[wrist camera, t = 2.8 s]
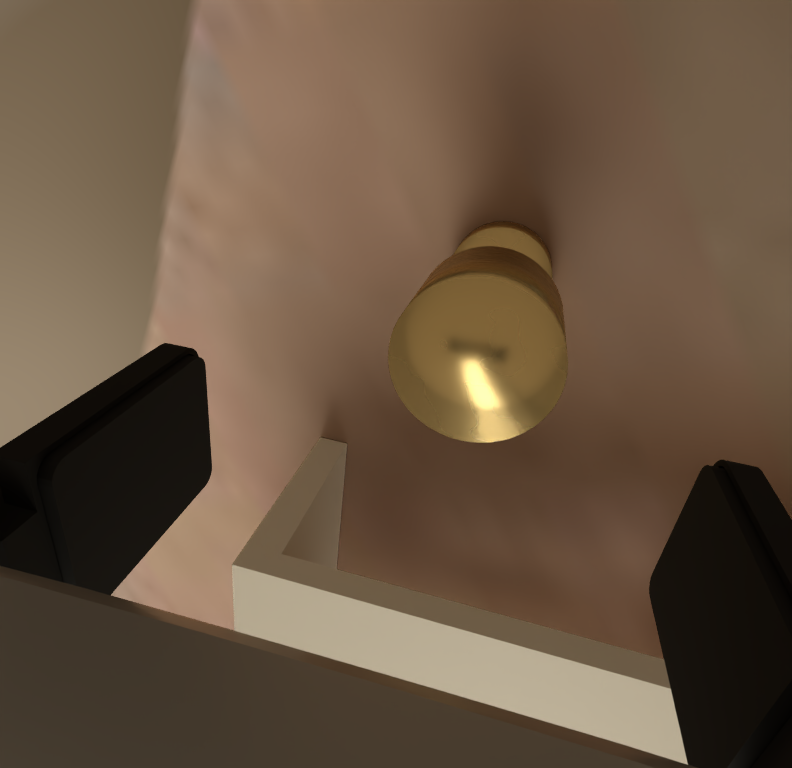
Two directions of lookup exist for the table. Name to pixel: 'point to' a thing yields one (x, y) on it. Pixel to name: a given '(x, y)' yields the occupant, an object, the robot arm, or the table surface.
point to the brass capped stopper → (483, 339)
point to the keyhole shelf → (435, 628)
